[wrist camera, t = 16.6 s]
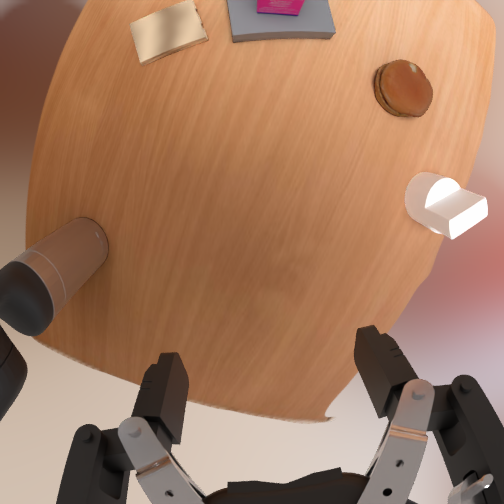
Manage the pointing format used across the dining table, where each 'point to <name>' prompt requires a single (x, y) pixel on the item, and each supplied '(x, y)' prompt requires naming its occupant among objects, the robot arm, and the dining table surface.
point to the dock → (280, 22)
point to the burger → (403, 89)
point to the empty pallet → (167, 31)
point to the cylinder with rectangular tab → (443, 204)
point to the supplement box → (280, 7)
